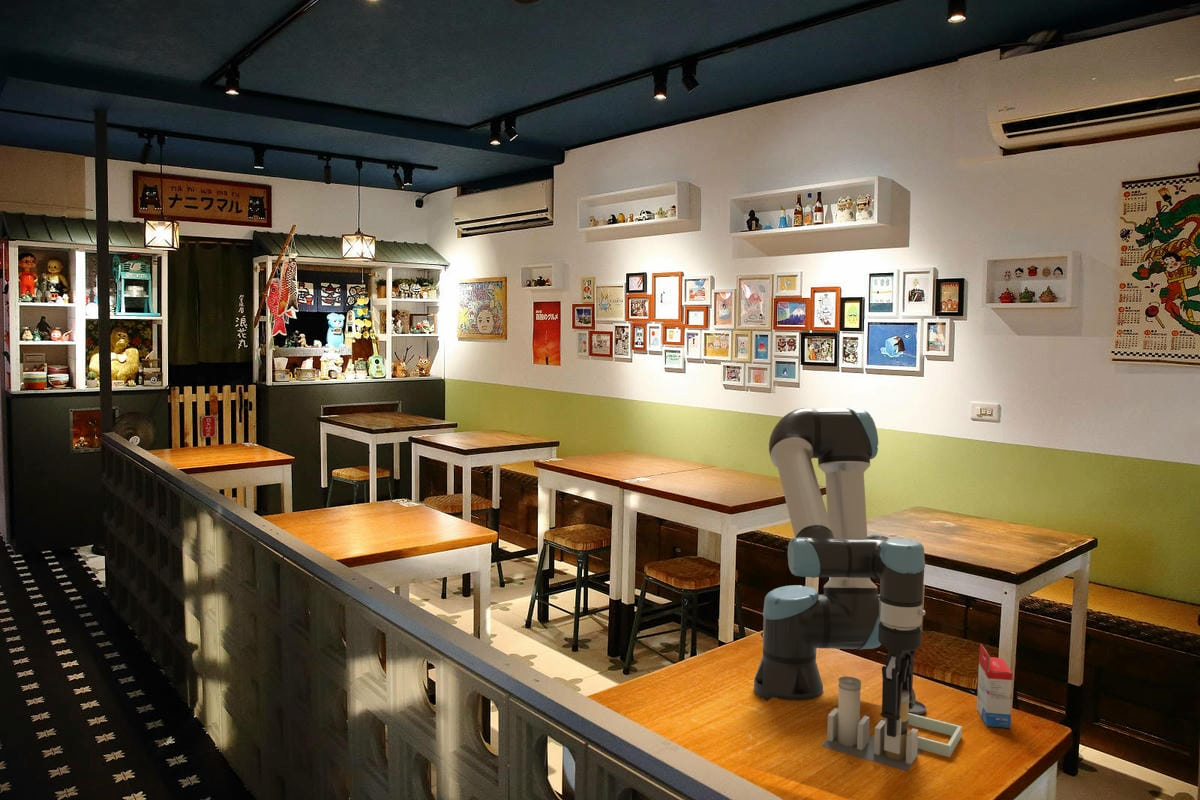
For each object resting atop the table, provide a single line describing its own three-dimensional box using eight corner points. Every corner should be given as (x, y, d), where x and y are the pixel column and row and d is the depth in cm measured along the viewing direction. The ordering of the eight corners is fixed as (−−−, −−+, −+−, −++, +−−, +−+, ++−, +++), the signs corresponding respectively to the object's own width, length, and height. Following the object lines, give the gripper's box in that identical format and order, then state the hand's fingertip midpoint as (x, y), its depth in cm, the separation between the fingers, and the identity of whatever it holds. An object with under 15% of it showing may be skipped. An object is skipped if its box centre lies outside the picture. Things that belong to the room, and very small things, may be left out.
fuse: (833, 742, 162) (835, 681, 161) (841, 734, 165) (842, 674, 164) (855, 748, 160) (857, 686, 159) (861, 740, 163) (863, 679, 162)
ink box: (1011, 729, 172) (1014, 659, 171) (985, 726, 173) (988, 656, 172) (1000, 711, 180) (1003, 644, 179) (975, 709, 181) (978, 642, 180)
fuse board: (820, 753, 160) (821, 720, 160) (838, 733, 169) (839, 702, 168) (907, 779, 151) (908, 744, 151) (921, 757, 160) (922, 723, 159)
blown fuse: (881, 755, 157) (883, 693, 156) (887, 747, 160) (889, 685, 159) (903, 762, 154) (906, 698, 154) (909, 753, 158) (912, 691, 157)
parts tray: (884, 746, 164) (884, 728, 163) (898, 727, 172) (899, 710, 171) (949, 764, 157) (950, 746, 156) (961, 744, 165) (961, 726, 165)
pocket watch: (925, 705, 182) (927, 660, 182) (926, 722, 174) (928, 675, 174) (885, 700, 185) (887, 655, 184) (885, 716, 177) (886, 669, 176)
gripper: (908, 641, 146) (903, 771, 148) (932, 615, 160) (928, 734, 162) (865, 632, 151) (861, 758, 152) (892, 608, 165) (888, 724, 166)
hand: (895, 746), depth 157 cm, fingers closed on blown fuse, 4 cm apart
